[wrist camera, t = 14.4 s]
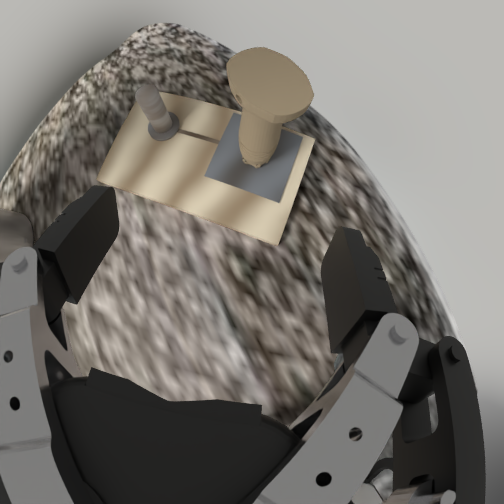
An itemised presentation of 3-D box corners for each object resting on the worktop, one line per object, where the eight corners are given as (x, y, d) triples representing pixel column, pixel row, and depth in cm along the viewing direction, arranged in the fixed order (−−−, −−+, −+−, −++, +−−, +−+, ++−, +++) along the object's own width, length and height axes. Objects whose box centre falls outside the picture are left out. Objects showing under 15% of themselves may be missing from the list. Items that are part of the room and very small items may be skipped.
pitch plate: (101, 182, 31) (62, 159, 21) (146, 94, 31) (125, 54, 22) (276, 246, 32) (292, 240, 22) (312, 143, 32) (335, 107, 23)
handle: (254, 189, 30) (270, 127, 15) (222, 146, 30) (212, 64, 15) (288, 166, 30) (327, 96, 15) (256, 126, 30) (269, 40, 15)
